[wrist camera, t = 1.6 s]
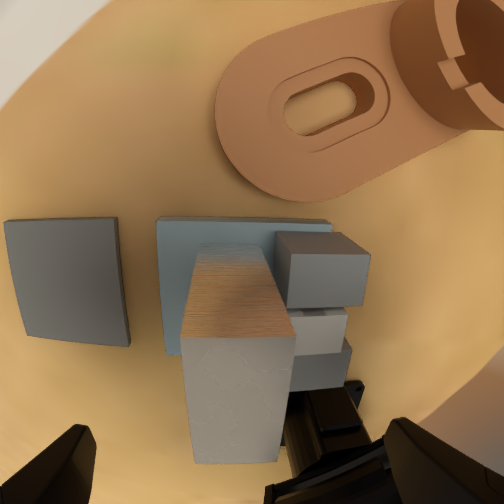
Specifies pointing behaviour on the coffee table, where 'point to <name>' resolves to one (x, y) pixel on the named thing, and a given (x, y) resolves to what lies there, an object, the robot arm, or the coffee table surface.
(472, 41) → the bracket
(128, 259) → the coffee table surface
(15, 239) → the mat
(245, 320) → the wood-topped grey block
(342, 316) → the vise
